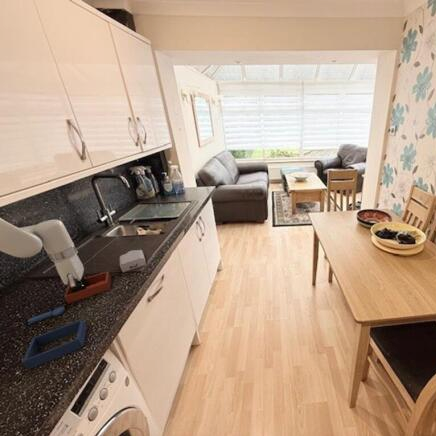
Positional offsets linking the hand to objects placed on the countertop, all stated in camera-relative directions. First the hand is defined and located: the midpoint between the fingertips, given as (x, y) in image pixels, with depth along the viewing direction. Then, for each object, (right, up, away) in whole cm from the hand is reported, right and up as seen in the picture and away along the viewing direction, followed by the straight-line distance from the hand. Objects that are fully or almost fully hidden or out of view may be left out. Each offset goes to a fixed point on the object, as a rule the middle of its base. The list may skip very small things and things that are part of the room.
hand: (84, 290), depth 95 cm
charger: (+8, +8, +19) cm, 22 cm away
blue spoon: (-4, -6, -10) cm, 13 cm away
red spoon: (+2, 0, +1) cm, 2 cm away
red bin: (+2, 0, +1) cm, 2 cm away
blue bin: (+12, -11, -22) cm, 27 cm away
